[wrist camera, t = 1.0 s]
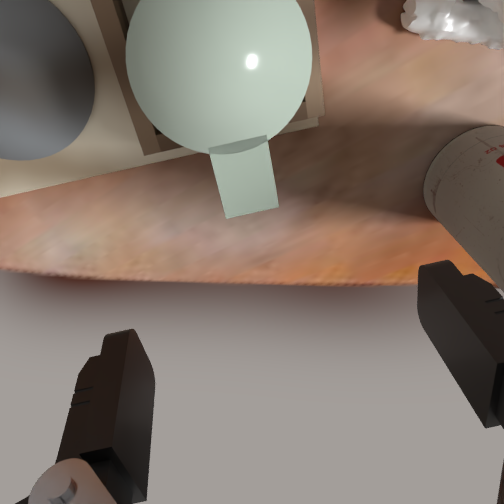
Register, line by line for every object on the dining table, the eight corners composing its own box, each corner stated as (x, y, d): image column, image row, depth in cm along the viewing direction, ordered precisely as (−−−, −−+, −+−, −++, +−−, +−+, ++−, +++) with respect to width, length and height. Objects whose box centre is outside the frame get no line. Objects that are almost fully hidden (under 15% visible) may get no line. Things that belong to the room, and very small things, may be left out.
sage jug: (128, -32, 23) (95, -19, 15) (260, -62, 23) (300, -66, 15) (181, 149, 29) (178, 229, 21) (287, 125, 29) (327, 196, 21)
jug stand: (-190, -47, 22) (-256, -45, 19) (285, -157, 22) (302, -175, 19) (-36, 199, 30) (-63, 230, 27) (315, 120, 30) (330, 142, 27)
